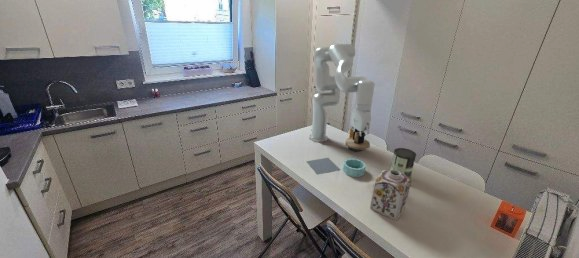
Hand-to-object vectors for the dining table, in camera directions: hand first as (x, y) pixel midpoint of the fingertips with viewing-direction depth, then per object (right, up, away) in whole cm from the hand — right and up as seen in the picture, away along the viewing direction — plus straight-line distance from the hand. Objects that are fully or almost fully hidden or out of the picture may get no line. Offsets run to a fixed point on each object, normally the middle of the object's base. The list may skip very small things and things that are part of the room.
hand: (358, 140), depth 126 cm
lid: (0, -2, +1) cm, 2 cm away
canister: (+7, -7, +32) cm, 33 cm away
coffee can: (+23, -19, +5) cm, 30 cm away
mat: (-16, -15, +12) cm, 25 cm away
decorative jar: (+8, -28, -18) cm, 34 cm away
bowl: (-1, -17, +7) cm, 18 cm away
